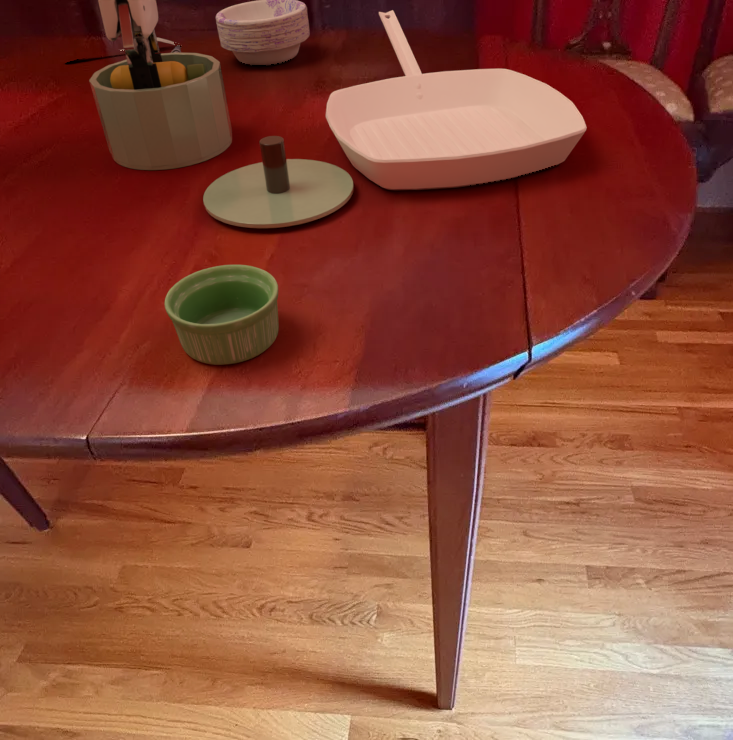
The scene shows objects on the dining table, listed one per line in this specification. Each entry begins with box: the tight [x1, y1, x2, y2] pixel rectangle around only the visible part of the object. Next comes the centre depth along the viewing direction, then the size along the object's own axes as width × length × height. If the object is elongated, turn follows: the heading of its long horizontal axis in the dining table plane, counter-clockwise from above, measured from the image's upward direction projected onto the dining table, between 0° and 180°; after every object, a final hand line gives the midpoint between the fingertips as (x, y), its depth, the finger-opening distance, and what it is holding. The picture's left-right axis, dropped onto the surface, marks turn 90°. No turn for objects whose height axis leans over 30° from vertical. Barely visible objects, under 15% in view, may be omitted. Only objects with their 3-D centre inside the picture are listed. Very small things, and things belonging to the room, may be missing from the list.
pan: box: [325, 9, 588, 191], centre depth 92 cm, size 29×45×9 cm, turn 13°
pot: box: [88, 52, 233, 171], centre depth 92 cm, size 16×16×10 cm
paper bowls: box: [215, 0, 311, 66], centre depth 122 cm, size 15×15×8 cm
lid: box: [202, 135, 355, 229], centre depth 78 cm, size 17×17×7 cm
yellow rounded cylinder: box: [110, 61, 206, 90], centre depth 89 cm, size 12×4×4 cm, turn 95°
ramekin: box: [164, 264, 280, 366], centre depth 59 cm, size 9×9×4 cm
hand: (152, 91), depth 90 cm, fingers closed on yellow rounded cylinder, 3 cm apart
